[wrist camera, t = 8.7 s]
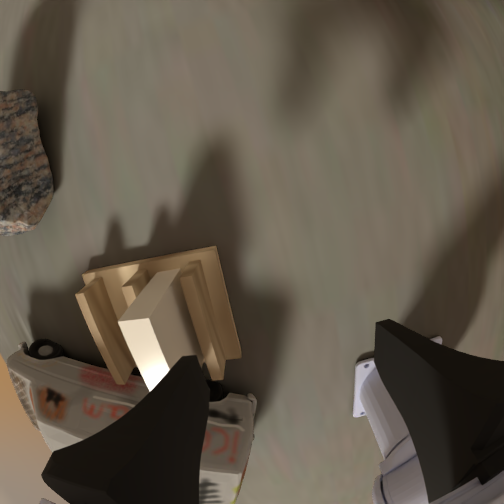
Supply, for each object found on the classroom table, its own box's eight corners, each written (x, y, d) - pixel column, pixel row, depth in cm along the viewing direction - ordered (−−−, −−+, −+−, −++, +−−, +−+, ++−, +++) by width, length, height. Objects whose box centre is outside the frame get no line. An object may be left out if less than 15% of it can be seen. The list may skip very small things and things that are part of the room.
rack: (216, 245, 20) (208, 264, 16) (241, 350, 22) (240, 383, 19) (87, 270, 20) (61, 289, 17) (124, 361, 23) (108, 388, 19)
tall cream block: (180, 268, 19) (149, 318, 13) (205, 350, 21) (191, 416, 15) (157, 272, 19) (117, 321, 13) (184, 353, 21) (164, 416, 15)
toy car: (28, 330, 23) (-25, 381, 13) (258, 379, 24) (262, 472, 14) (52, 398, 26) (17, 450, 16) (245, 443, 27) (244, 517, 17)
